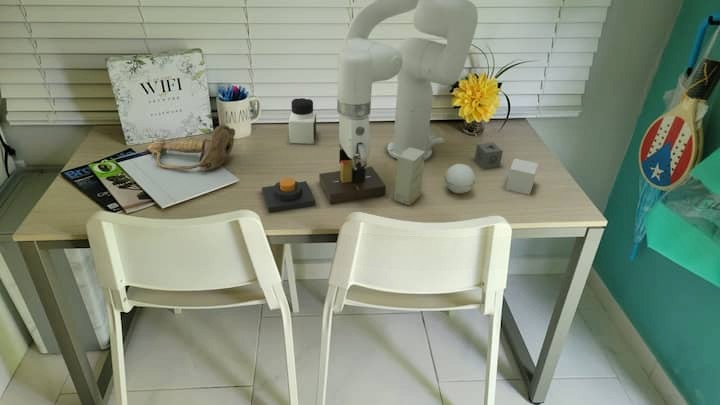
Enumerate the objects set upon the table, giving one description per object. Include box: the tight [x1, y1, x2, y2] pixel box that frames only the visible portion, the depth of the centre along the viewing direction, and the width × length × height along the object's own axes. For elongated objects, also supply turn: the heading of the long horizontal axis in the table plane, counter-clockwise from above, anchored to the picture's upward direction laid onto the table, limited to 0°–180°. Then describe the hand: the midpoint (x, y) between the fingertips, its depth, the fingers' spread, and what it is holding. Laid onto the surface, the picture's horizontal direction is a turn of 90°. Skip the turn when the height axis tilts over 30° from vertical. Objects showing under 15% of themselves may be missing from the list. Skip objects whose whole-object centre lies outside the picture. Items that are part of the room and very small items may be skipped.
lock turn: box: [339, 159, 360, 183], centre depth 124 cm, size 6×2×5 cm, turn 109°
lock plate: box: [318, 166, 387, 205], centre depth 126 cm, size 14×10×3 cm
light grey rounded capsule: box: [444, 163, 476, 194], centre depth 125 cm, size 10×7×7 cm
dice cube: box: [474, 141, 503, 170], centre depth 139 cm, size 5×5×5 cm
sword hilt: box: [144, 124, 236, 172], centre depth 135 cm, size 10×24×15 cm
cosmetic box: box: [393, 147, 425, 206], centre depth 122 cm, size 6×4×12 cm
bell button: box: [279, 177, 296, 192], centre depth 120 cm, size 4×4×2 cm
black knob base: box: [261, 180, 316, 214], centre depth 122 cm, size 11×9×4 cm
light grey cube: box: [505, 158, 539, 196], centre depth 130 cm, size 6×6×6 cm
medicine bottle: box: [288, 96, 317, 145], centre depth 147 cm, size 7×7×12 cm
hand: (351, 172), depth 124 cm, fingers open, 9 cm apart
